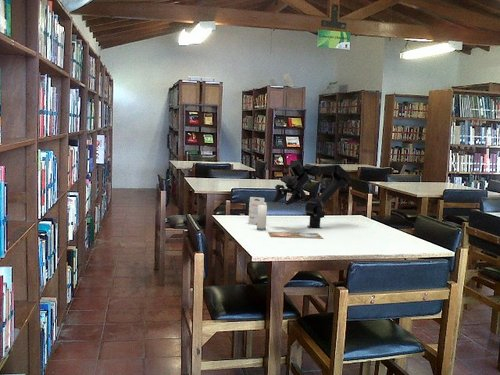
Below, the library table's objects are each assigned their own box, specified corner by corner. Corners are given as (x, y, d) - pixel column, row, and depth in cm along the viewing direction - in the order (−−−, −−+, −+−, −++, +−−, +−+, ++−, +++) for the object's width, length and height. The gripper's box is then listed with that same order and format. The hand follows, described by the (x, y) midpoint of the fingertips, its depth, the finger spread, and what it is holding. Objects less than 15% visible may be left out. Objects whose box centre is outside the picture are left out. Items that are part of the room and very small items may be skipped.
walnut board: (267, 233, 251) (267, 231, 250) (317, 234, 253) (317, 233, 253) (270, 238, 238) (270, 237, 238) (323, 240, 240) (323, 238, 240)
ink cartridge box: (265, 224, 276) (267, 197, 274) (263, 225, 271) (265, 198, 270) (250, 222, 278) (251, 195, 277) (248, 224, 273) (249, 196, 272)
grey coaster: (297, 233, 250) (297, 232, 250) (315, 234, 251) (315, 233, 251) (300, 237, 241) (300, 236, 241) (319, 237, 242) (319, 237, 242)
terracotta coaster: (270, 232, 249) (271, 231, 249) (289, 233, 249) (289, 232, 249) (273, 236, 240) (273, 235, 240) (292, 236, 241) (292, 236, 241)
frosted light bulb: (256, 230, 257) (257, 204, 255) (265, 230, 257) (266, 204, 256) (257, 232, 252) (258, 205, 251) (266, 232, 253) (267, 206, 251)
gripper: (280, 168, 264) (260, 188, 258) (305, 172, 250) (285, 193, 244) (289, 185, 270) (270, 205, 263) (314, 189, 255) (295, 210, 249)
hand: (280, 203), depth 255 cm, fingers open, 9 cm apart
